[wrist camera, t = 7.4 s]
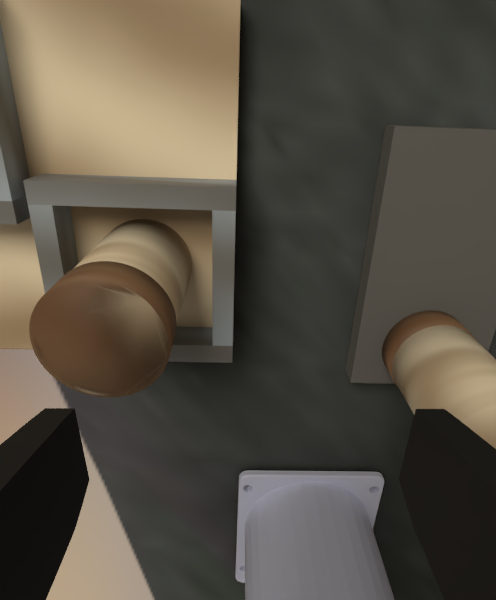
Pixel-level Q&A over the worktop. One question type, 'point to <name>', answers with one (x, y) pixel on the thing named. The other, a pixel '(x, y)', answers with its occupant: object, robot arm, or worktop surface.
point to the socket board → (119, 148)
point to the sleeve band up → (115, 311)
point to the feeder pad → (427, 239)
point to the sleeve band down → (443, 369)
